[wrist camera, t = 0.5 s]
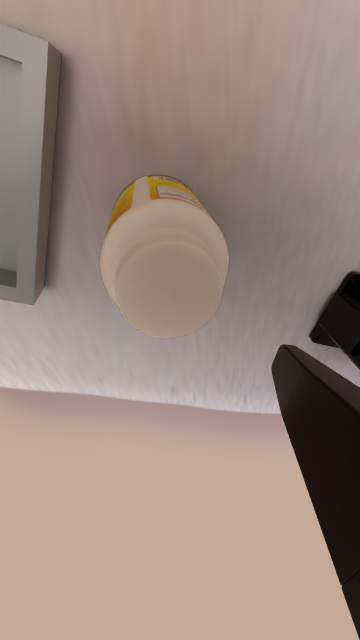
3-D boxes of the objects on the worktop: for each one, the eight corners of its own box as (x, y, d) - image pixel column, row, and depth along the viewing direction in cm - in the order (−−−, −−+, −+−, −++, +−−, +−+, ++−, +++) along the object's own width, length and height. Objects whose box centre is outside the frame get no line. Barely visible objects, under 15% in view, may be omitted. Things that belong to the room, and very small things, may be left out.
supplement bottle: (129, 269, 21) (120, 369, 13) (100, 186, 18) (63, 242, 10) (207, 250, 21) (252, 337, 12) (191, 161, 18) (235, 197, 9)
